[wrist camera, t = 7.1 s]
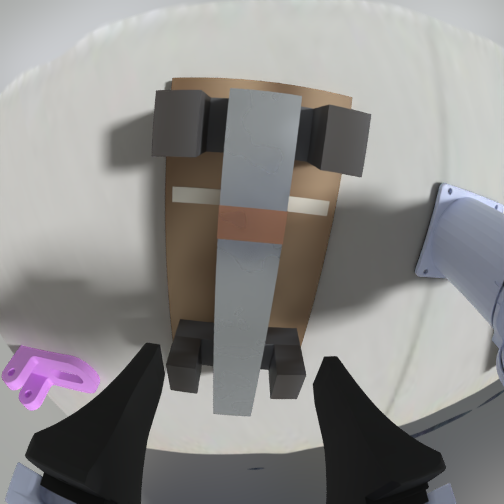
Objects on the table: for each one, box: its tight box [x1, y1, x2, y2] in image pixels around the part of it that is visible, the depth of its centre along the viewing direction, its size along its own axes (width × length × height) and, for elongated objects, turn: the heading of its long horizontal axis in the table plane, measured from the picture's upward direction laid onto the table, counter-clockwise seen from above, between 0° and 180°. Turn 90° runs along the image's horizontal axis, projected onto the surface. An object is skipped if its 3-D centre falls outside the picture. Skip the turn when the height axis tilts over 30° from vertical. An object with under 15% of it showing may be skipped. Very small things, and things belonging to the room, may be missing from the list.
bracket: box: [2, 345, 100, 410], centre depth 23 cm, size 13×6×7 cm, turn 94°
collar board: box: [152, 78, 371, 399], centre depth 17 cm, size 11×22×6 cm, turn 174°
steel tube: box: [213, 88, 302, 416], centre depth 16 cm, size 3×22×3 cm, turn 174°
